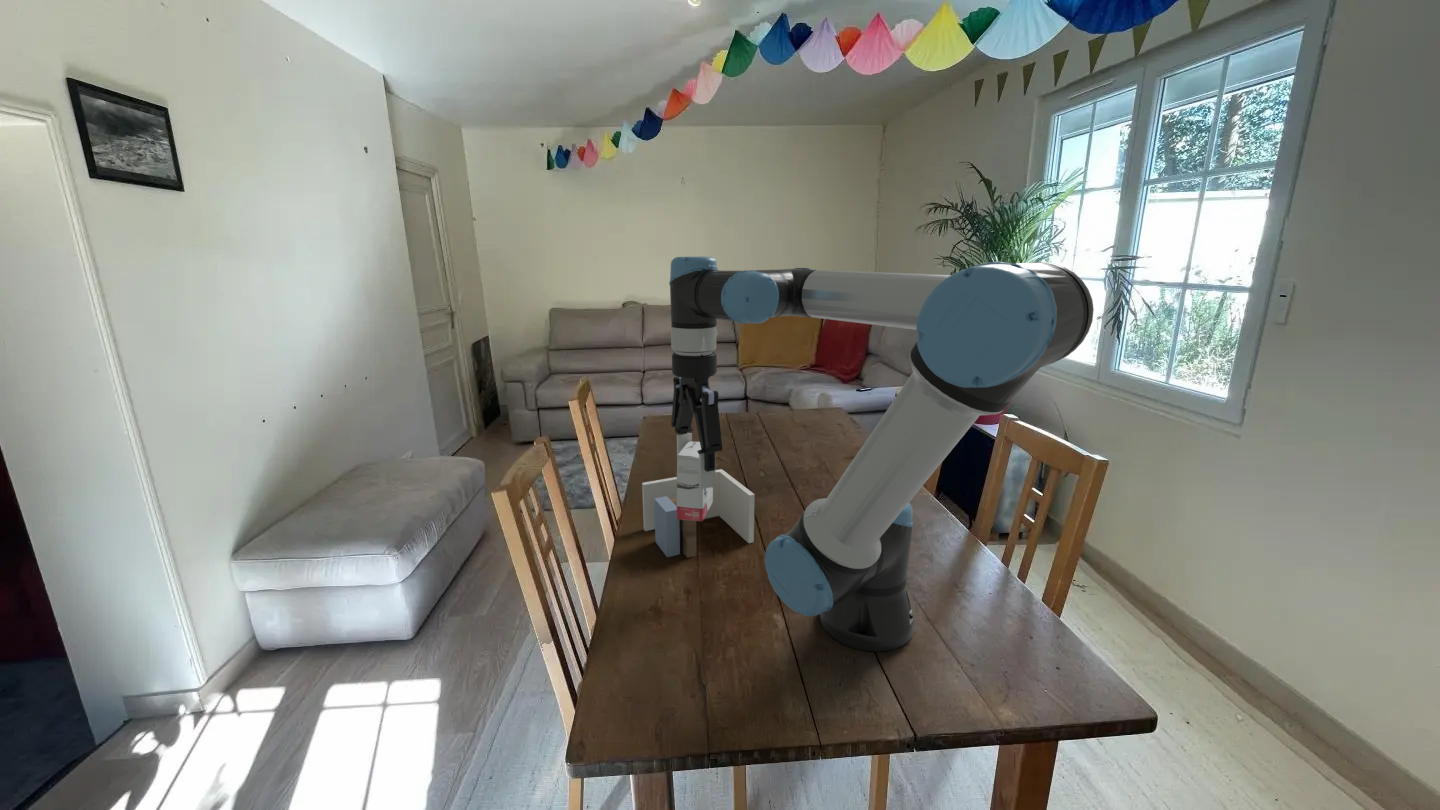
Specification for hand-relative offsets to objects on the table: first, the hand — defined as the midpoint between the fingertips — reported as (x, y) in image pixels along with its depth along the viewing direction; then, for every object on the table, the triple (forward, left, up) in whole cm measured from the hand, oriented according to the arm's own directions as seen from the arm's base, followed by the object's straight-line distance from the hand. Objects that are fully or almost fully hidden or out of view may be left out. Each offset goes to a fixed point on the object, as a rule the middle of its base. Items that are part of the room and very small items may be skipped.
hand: (695, 477), depth 103 cm
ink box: (0, 0, -7) cm, 7 cm away
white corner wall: (+17, -8, -21) cm, 28 cm away
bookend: (+14, -3, -21) cm, 26 cm away
